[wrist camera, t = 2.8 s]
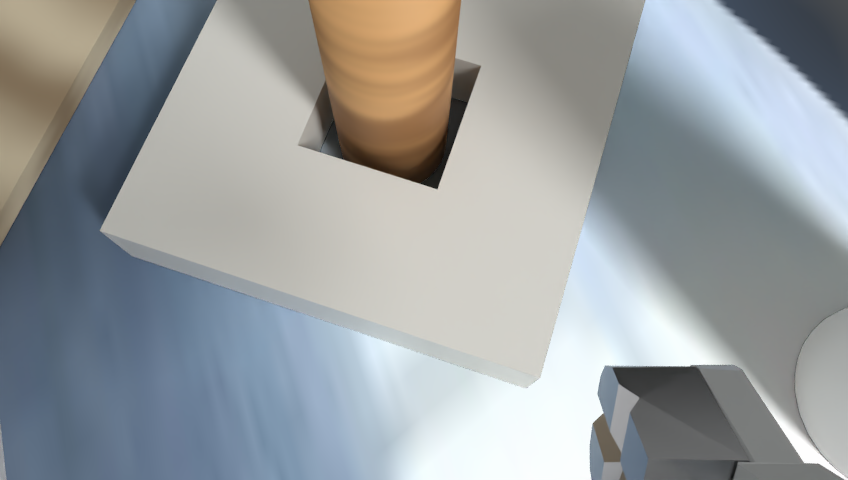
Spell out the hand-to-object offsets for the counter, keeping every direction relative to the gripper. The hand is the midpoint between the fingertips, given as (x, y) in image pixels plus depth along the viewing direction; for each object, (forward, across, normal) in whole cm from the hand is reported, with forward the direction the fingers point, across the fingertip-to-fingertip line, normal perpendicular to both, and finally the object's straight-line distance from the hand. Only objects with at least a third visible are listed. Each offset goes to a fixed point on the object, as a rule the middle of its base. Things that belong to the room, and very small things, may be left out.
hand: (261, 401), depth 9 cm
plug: (+22, -1, +4) cm, 22 cm away
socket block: (+22, -1, +4) cm, 22 cm away
